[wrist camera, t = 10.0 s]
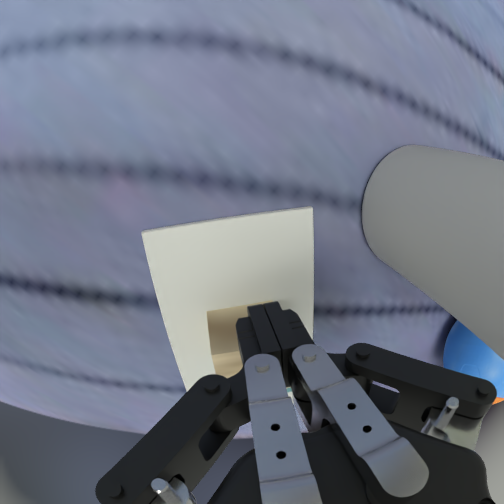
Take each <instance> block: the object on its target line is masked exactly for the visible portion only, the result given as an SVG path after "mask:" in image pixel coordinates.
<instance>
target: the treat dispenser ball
mask: <svg viewBox="0 0 504 504" xmlns="http://www.w3.org/2000/svg"><path fill="white" fill-rule="evenodd" d="M443 364H444V368H446V369H450V370H453V371H456V372H460V373H463V374H467V375H471V376H474V377H478V378H482V379H485V380H488V381H490V382H491V383H492V384H493V385H494V386H495V388H496V390H497V397H496V399H495V401H494V402H493V404H496V403H498V402H501V401H503V400H504V360H503V359H502V358H501V357H500V356H498V355H497V354H496V353H495V352H494V351H493V350H492V349H491V348H490V347H488V346H487V345H486V344H485V343H484V342H483V341H482V340H481V339H479V338H478V337H477V336H476V335H475V334H474V333H472V332H471V331H470V330H469V329H468V328H467V327H465V326H464V325H463V324H462V323H461V322H460V321H458V320H457V321H456V322H455V324H454V325H453V327H452V328H451V330H450V332H449V334H448V337H447V340H446V343H445V348H444V354H443Z"/></svg>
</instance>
